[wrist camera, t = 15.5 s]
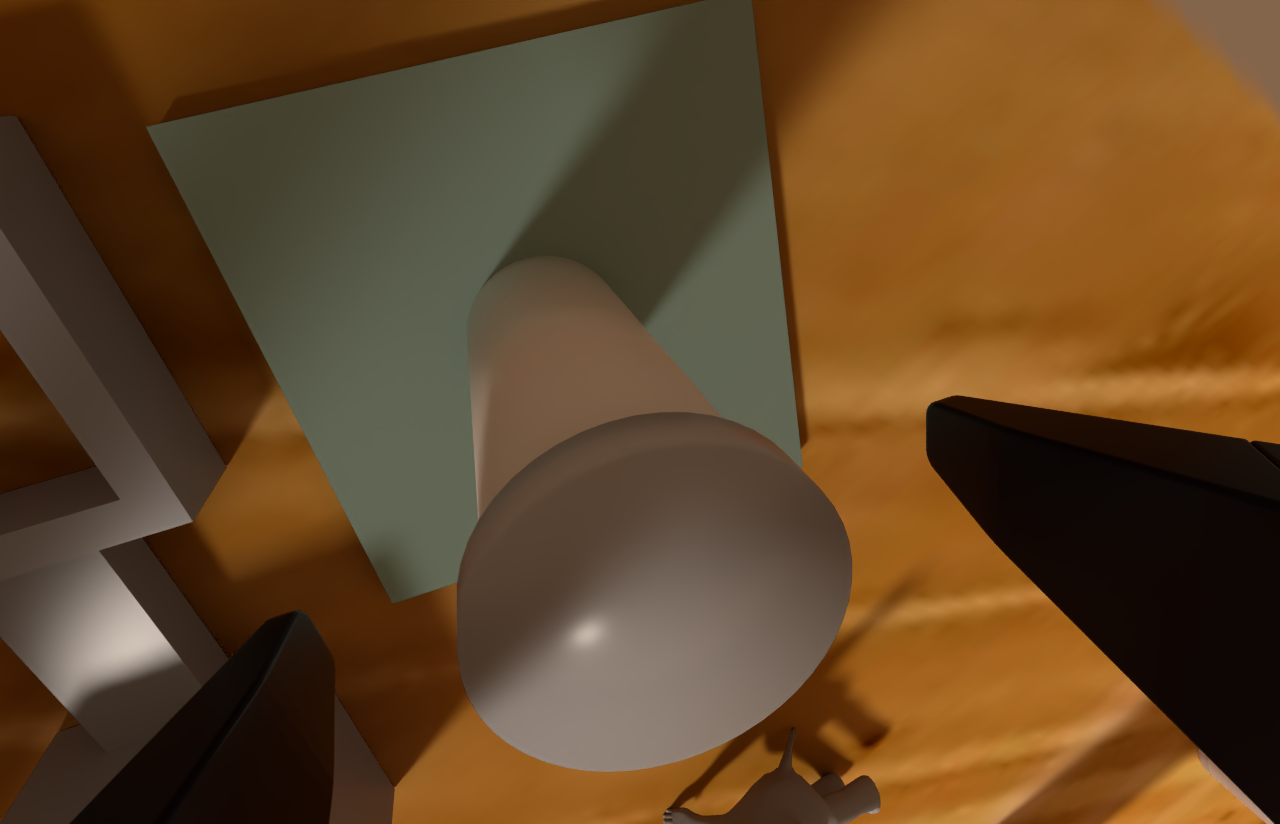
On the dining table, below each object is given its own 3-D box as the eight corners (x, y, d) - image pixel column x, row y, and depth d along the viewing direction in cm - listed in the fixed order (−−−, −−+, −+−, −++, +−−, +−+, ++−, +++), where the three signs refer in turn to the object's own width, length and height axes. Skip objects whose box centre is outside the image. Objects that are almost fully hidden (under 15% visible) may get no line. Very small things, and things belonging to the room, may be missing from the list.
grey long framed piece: (414, 781, 23) (406, 941, 19) (163, 874, 22) (91, 1067, 18) (16, 115, 13) (-207, 121, 9) (-484, 225, 12) (-1033, 295, 7)
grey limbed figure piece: (770, 851, 31) (628, 926, 25) (749, 713, 33) (612, 750, 27) (991, 888, 24) (871, 1002, 18) (948, 712, 26) (826, 761, 20)
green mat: (793, 458, 21) (802, 467, 21) (394, 590, 20) (392, 604, 19) (740, -7, 15) (750, -10, 15) (157, 125, 14) (145, 126, 13)
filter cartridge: (649, 387, 18) (861, 691, 9) (487, 436, 18) (528, 821, 8) (612, 222, 16) (838, 389, 7) (426, 271, 16) (387, 532, 6)
